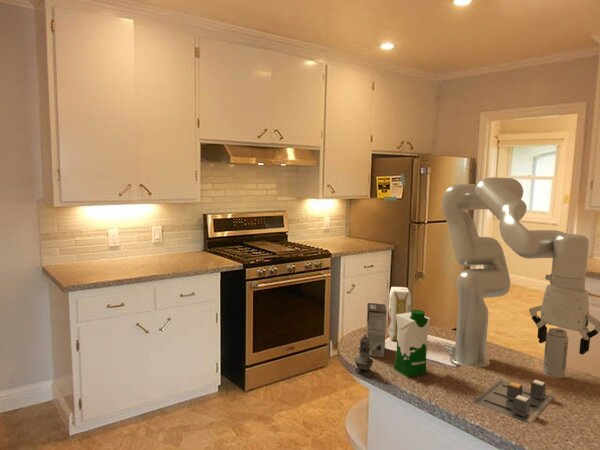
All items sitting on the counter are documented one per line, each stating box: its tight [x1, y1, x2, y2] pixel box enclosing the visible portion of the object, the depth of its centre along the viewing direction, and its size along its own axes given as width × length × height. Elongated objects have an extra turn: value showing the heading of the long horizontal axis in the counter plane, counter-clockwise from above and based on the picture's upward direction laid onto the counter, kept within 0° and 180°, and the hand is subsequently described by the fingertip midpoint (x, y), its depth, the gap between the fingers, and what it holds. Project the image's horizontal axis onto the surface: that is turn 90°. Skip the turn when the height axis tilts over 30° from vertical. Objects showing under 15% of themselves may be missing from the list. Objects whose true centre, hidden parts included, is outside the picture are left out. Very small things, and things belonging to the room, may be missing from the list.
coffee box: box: [365, 302, 387, 358], centre depth 158 cm, size 9×6×16 cm
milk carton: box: [394, 309, 432, 378], centre depth 142 cm, size 9×9×20 cm
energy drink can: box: [542, 327, 569, 379], centre depth 141 cm, size 6×6×15 cm
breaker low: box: [512, 395, 530, 417], centre depth 116 cm, size 3×4×4 cm
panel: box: [471, 379, 556, 425], centre depth 124 cm, size 15×20×1 cm
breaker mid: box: [506, 381, 524, 401], centre depth 124 cm, size 3×4×4 cm
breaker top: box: [530, 379, 547, 400], centre depth 125 cm, size 3×4×4 cm
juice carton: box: [387, 286, 412, 341], centre depth 172 cm, size 8×9×19 cm
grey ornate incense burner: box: [354, 334, 374, 376], centre depth 142 cm, size 6×6×12 cm
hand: (562, 347), depth 117 cm, fingers open, 9 cm apart
